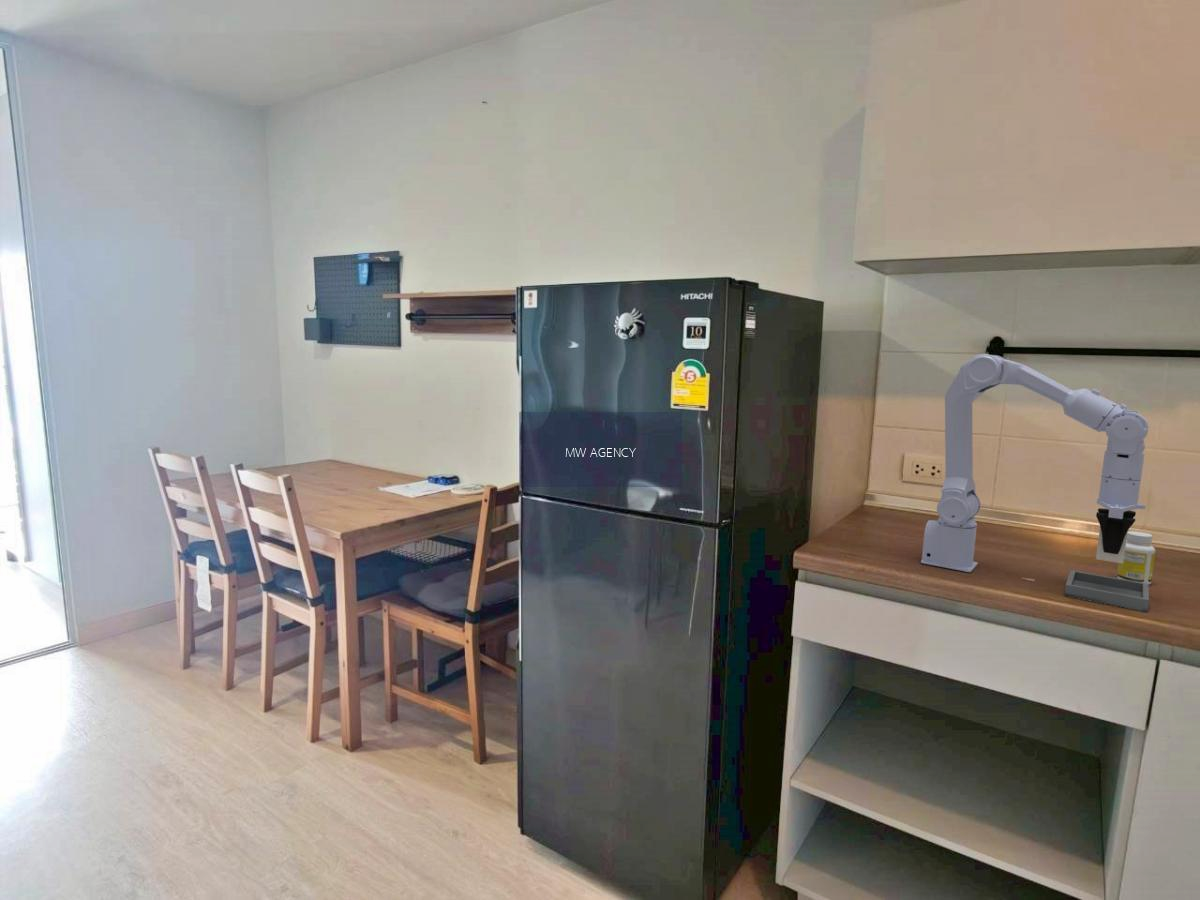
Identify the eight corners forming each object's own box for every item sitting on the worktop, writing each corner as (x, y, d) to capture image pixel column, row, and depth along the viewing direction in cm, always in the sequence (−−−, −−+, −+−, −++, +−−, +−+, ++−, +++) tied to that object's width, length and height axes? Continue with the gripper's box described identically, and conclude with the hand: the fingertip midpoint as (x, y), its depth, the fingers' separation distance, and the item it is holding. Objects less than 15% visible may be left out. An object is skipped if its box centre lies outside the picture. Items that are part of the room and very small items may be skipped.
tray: (1064, 596, 125) (1065, 584, 125) (1069, 580, 134) (1070, 570, 134) (1147, 612, 118) (1149, 600, 117) (1146, 595, 127) (1148, 583, 127)
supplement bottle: (1135, 577, 138) (1142, 530, 137) (1158, 586, 133) (1165, 537, 131) (1109, 576, 138) (1116, 530, 136) (1131, 585, 132) (1138, 537, 131)
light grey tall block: (1095, 559, 125) (1100, 522, 124) (1096, 554, 128) (1101, 518, 127) (1123, 563, 122) (1128, 525, 121) (1123, 558, 125) (1128, 522, 124)
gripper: (1149, 485, 115) (1138, 563, 117) (1148, 476, 126) (1138, 546, 128) (1098, 480, 119) (1088, 555, 121) (1101, 471, 131) (1093, 539, 132)
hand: (1111, 550), depth 125 cm, fingers closed on light grey tall block, 4 cm apart
